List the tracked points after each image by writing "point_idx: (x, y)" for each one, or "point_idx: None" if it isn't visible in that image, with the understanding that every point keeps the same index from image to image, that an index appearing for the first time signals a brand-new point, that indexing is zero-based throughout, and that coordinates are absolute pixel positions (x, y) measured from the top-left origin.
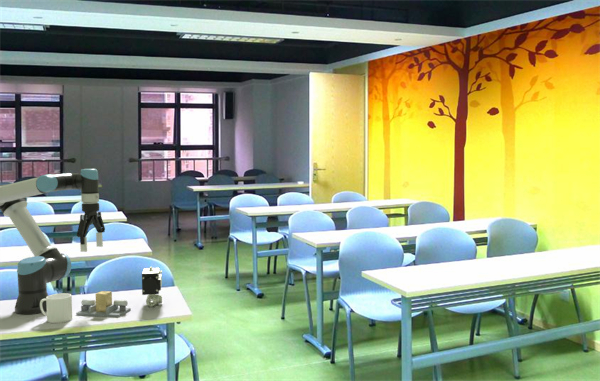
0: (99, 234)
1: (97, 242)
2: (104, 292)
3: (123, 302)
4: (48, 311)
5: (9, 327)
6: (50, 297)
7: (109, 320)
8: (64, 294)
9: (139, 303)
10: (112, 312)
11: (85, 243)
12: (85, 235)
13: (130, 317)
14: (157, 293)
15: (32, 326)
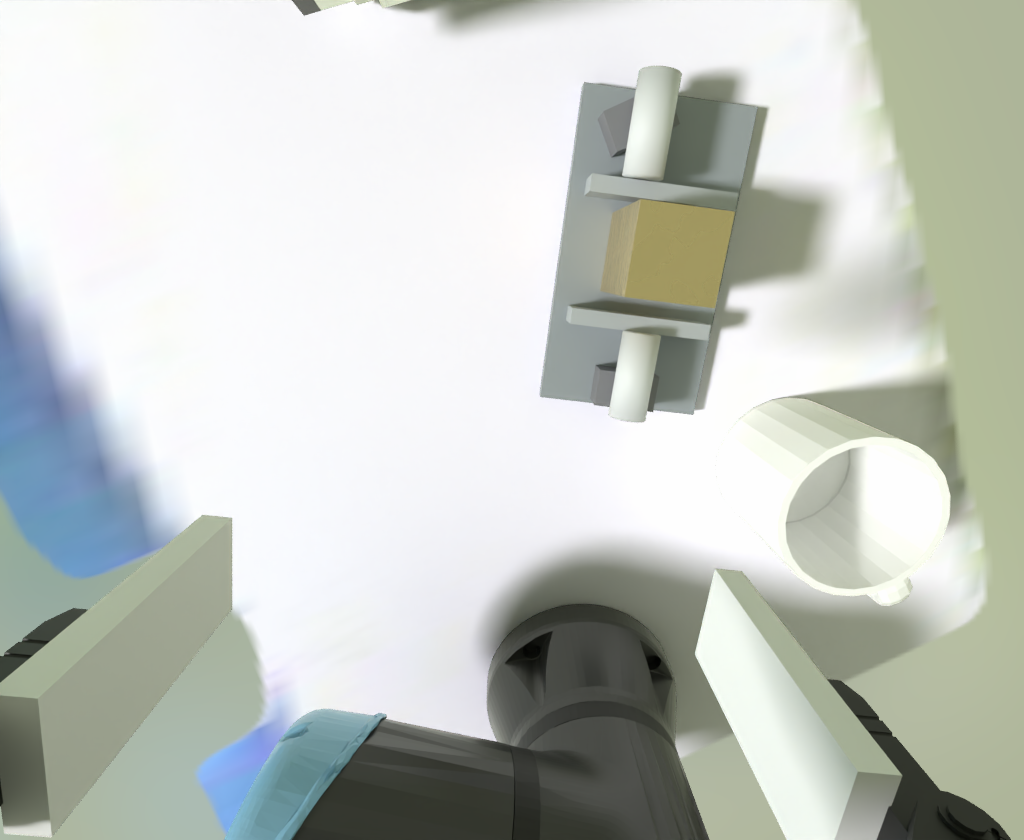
0: (79, 716)
1: (195, 636)
2: (671, 250)
3: (678, 88)
4: (869, 521)
5: (892, 642)
6: (824, 578)
7: (819, 148)
8: (783, 513)
9: (395, 85)
10: (694, 178)
11: (808, 670)
12: (926, 825)
13: (760, 19)
14: None
15: None
